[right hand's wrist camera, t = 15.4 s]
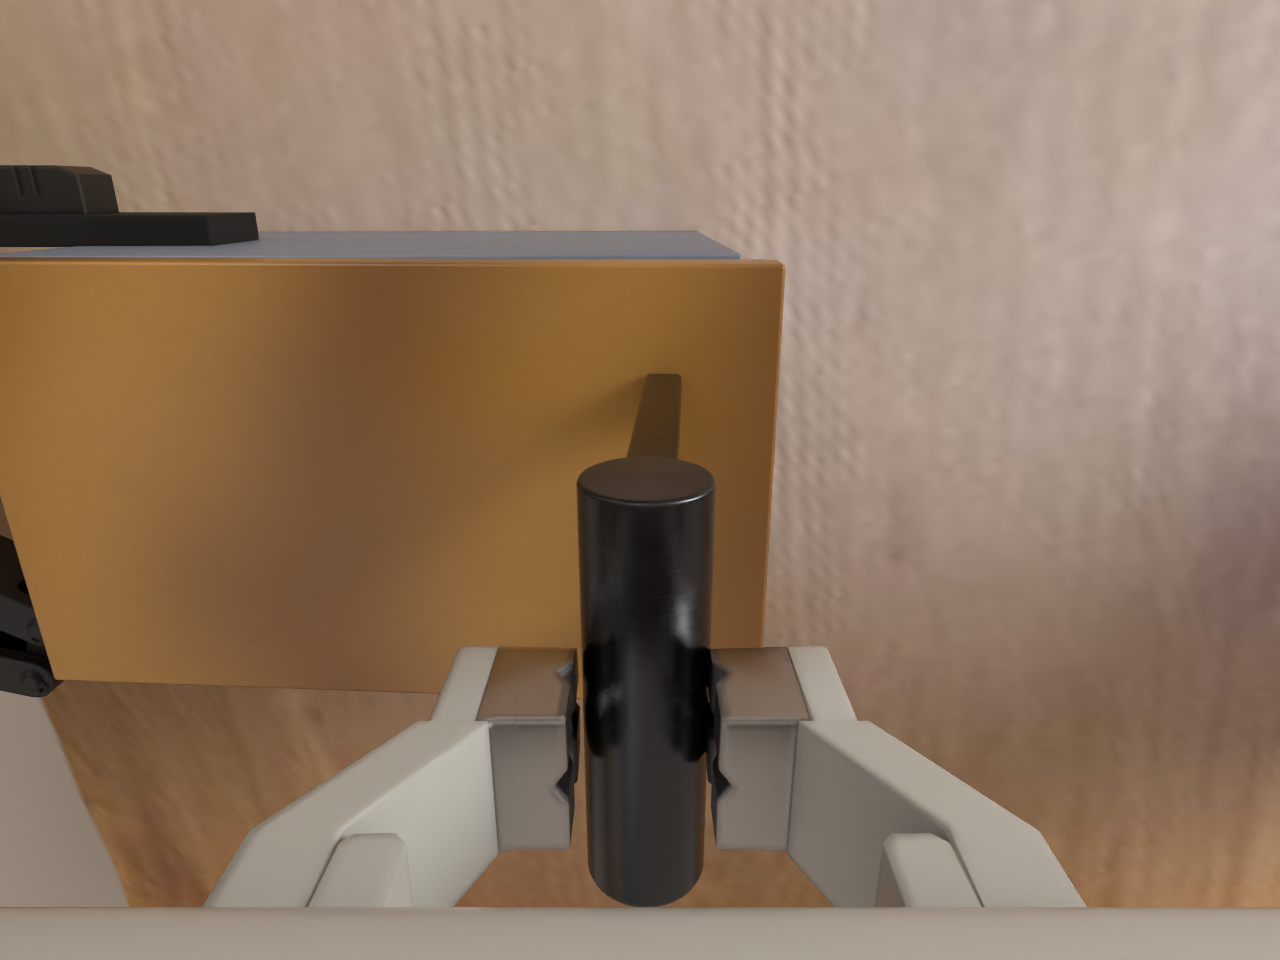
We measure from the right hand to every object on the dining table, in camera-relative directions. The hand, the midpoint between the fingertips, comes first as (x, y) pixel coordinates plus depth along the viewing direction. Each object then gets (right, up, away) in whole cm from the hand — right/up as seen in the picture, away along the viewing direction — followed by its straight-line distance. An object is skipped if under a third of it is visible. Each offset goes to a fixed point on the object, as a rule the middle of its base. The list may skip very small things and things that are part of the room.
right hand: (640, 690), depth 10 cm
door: (-6, +3, +7) cm, 10 cm away
